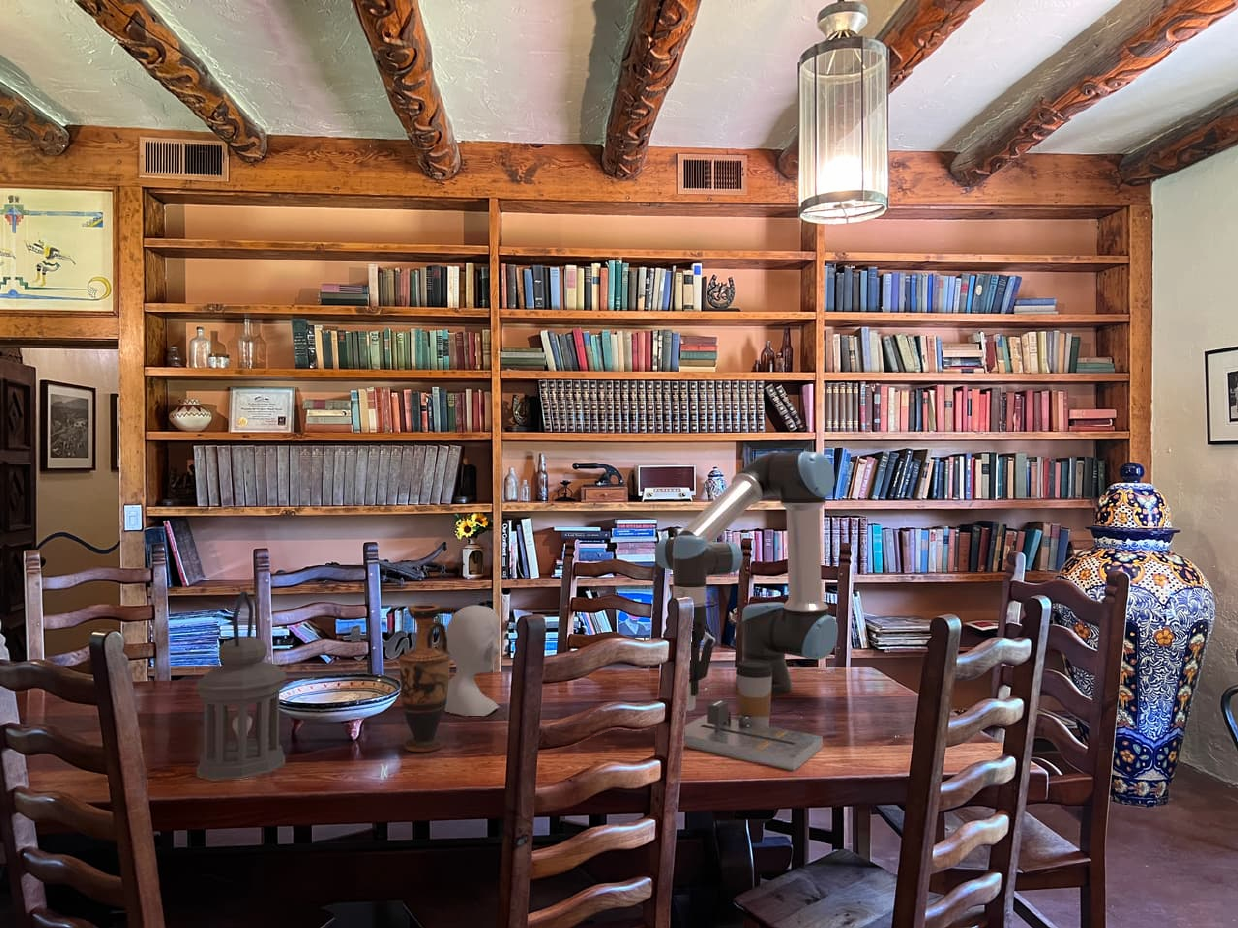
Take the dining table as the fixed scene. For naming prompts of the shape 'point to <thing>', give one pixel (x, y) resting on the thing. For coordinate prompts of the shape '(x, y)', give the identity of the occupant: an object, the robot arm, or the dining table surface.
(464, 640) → the head bust
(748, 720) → the console
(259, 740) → the lantern
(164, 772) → the dining table surface
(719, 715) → the fader
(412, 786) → the dining table surface
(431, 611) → the vase
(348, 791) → the dining table surface
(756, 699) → the coffee cup
